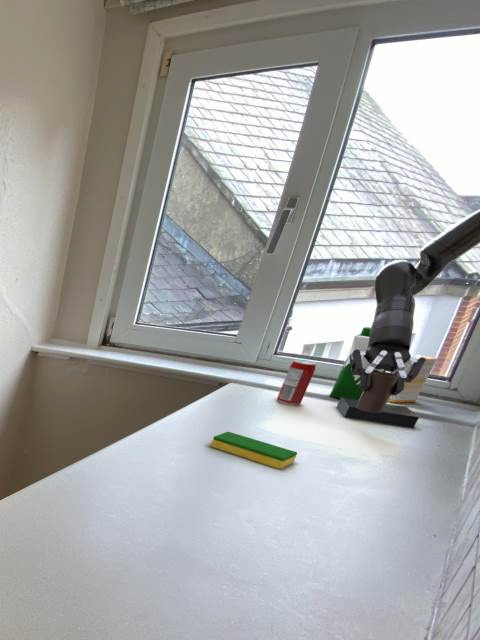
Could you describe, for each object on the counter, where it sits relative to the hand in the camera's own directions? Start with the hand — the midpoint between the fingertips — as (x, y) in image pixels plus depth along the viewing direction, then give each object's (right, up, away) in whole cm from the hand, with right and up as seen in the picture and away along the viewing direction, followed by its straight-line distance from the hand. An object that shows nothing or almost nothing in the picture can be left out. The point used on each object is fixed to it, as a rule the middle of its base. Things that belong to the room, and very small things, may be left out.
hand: (380, 391), depth 132 cm
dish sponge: (-41, -16, -12) cm, 46 cm away
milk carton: (+21, +3, +30) cm, 37 cm away
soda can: (-3, +1, +24) cm, 24 cm away
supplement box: (+34, +2, +30) cm, 46 cm away
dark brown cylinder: (+1, -4, +4) cm, 6 cm away
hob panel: (+12, -5, +15) cm, 20 cm away
